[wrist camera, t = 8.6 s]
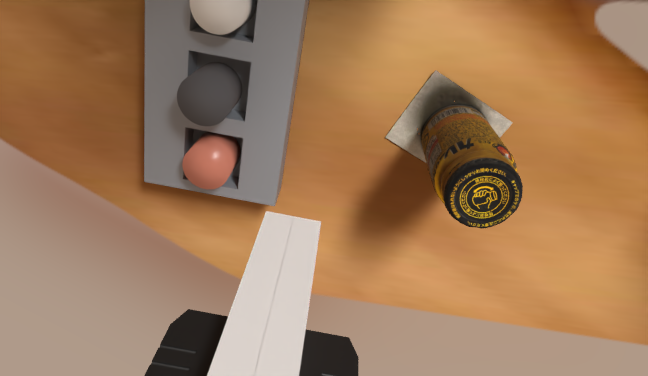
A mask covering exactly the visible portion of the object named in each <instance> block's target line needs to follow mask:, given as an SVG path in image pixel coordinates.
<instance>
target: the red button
mask: <svg viewBox="0 0 648 376" xmlns="http://www.w3.org/2000/svg"><path fill="white" fill-rule="evenodd" d="M239 158H240V147H239V144H238V142H237V141H236V139H235V138H234V137H233V136H229V135H224V134H219V133H213V132H208V131H207V132H205V133H204V134H202V135H201V137H200V138H199V139H198V140H197V141H196V142H195V144H194V145H193V146H192V147H191V148H190V149H189V151H188V152H187V153H186V154H185V156H184V158H183V163H182V166H183V171H184V174H185V176H186V177H187V179H188V180H189V181H190V182H191V183H192V184H194V185H195V186H197V187H199V188H202V189H216V188H219V187H221V186H222V185H223V184H224V183H225V182H226V181H227V179H228V178H229V176H230V174H231V172H232V171H233V169H234V167H235V166H236V164H237V162H238V160H239Z"/></svg>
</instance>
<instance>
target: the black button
mask: <svg viewBox="0 0 648 376" xmlns="http://www.w3.org/2000/svg"><path fill="white" fill-rule="evenodd" d="M241 95H242V83H241V80H240V77H239V76H238V74H237V73H236V71H235V70H234V69H232V68H231V67H230V66H228V65H226V64H224V63H221V62H210V63H207V64H205V65H203V66H201V67H200V68H199V69H197V70H196V71H195V72H193V73H192V74H191V75H189V76H188V77H187V78H185V79H184V80H183V81H182V82H181V84H180V86H179V88H178V91H177V102H178V106H179V108H180V110H181V112H182V113H183V114H184V116H185V117H186V118H187V119H188V120H190V121H191V122H193V123H195V124H197V125H200V126H214V125H217V124H219V123H221V122H222V121H223V120H224V119H225V118H226V117H227V115H228V114H229V113H230V112H231V110H232V109H233V108H234V107H235V105H236V104H237V103H238V101H239V100H240V98H241Z"/></svg>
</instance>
